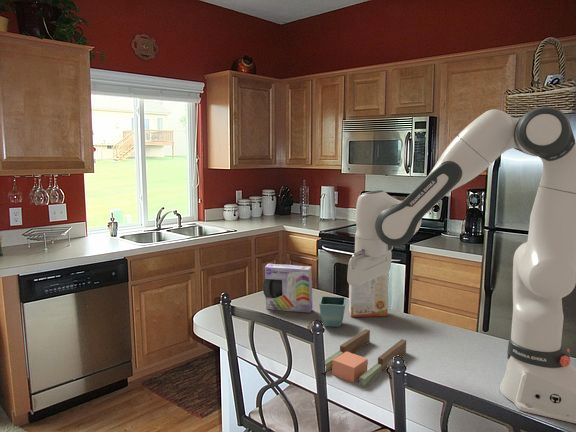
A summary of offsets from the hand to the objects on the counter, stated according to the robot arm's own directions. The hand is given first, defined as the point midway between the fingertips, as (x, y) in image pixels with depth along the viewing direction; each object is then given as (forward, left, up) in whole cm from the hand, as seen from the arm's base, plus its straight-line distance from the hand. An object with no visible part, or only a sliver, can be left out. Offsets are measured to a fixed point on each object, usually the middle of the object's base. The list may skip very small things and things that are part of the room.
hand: (369, 293), depth 130 cm
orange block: (0, +10, -21) cm, 23 cm away
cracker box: (+18, -34, -21) cm, 44 cm away
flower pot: (+23, -17, -21) cm, 35 cm away
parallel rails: (0, +1, -21) cm, 21 cm away
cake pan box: (+45, -19, -21) cm, 53 cm away
